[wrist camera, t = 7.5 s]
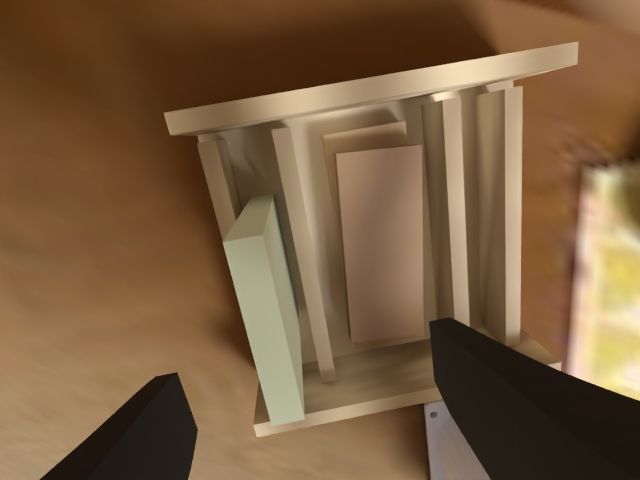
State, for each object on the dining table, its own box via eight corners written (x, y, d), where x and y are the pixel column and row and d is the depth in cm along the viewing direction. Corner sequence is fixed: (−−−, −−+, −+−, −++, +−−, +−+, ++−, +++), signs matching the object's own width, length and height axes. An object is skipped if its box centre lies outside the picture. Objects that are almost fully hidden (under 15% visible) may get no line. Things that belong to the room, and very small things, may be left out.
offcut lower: (398, 121, 17) (405, 120, 16) (417, 326, 21) (424, 335, 20) (321, 135, 17) (323, 135, 16) (354, 339, 21) (357, 348, 20)
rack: (505, 65, 18) (578, 41, 13) (506, 327, 22) (560, 374, 18) (196, 119, 17) (163, 112, 13) (263, 376, 22) (257, 437, 17)
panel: (273, 192, 18) (262, 234, 10) (298, 310, 20) (304, 419, 12) (251, 197, 18) (222, 242, 10) (278, 314, 20) (271, 426, 12)
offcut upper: (414, 144, 17) (421, 144, 16) (417, 323, 20) (423, 333, 19) (333, 152, 16) (336, 153, 15) (348, 333, 19) (351, 343, 18)
